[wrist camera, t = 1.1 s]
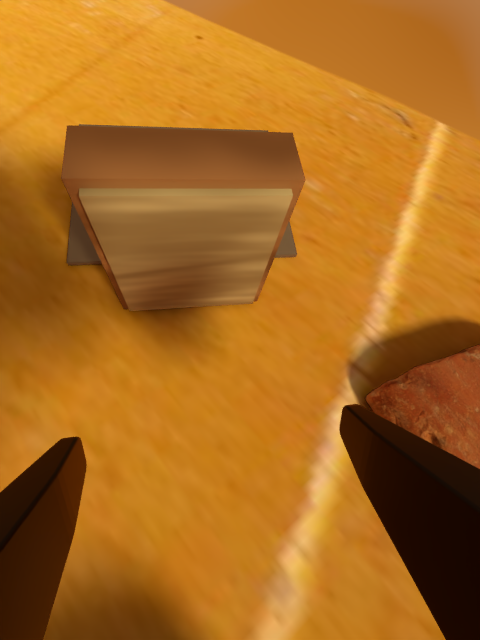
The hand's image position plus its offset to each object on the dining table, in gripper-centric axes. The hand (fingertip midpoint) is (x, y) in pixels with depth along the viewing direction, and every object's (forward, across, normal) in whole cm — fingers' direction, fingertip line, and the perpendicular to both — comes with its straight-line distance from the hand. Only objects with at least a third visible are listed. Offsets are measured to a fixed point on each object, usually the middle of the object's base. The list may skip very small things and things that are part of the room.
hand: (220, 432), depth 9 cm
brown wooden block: (+17, 0, +1) cm, 17 cm away
